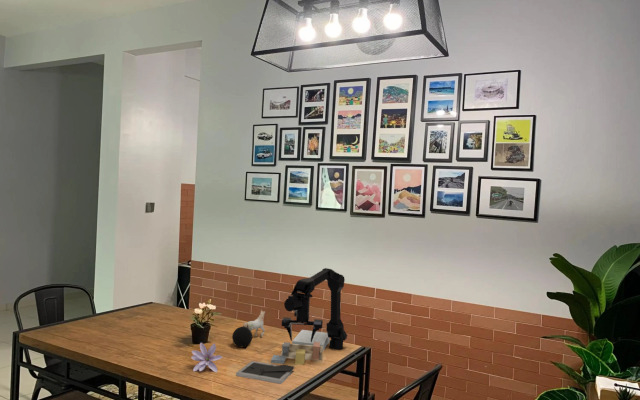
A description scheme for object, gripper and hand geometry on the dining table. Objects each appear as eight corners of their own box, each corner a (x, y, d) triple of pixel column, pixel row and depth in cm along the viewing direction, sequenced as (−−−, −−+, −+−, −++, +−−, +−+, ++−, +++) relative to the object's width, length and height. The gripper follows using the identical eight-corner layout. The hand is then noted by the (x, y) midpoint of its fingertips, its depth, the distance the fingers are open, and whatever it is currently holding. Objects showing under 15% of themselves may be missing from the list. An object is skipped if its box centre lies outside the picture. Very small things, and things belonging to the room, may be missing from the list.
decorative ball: (228, 347, 243) (229, 327, 242) (238, 342, 252) (239, 323, 252) (245, 351, 239) (246, 331, 239) (255, 345, 249) (256, 326, 248)
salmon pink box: (319, 354, 237) (319, 342, 237) (318, 359, 230) (319, 346, 230) (313, 354, 237) (313, 341, 237) (312, 358, 230) (313, 346, 230)
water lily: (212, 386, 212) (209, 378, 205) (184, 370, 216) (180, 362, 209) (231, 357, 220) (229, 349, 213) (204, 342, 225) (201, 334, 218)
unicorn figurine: (270, 334, 268) (271, 310, 268) (250, 343, 251) (251, 318, 251) (259, 332, 272) (260, 308, 271) (238, 341, 254) (240, 315, 254)
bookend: (289, 352, 237) (290, 342, 237) (288, 356, 231) (288, 346, 231) (283, 352, 237) (284, 342, 237) (282, 356, 231) (282, 346, 231)
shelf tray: (322, 356, 238) (322, 345, 238) (321, 363, 228) (322, 352, 228) (281, 353, 239) (282, 343, 239) (279, 360, 229) (280, 349, 229)
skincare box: (291, 351, 243) (322, 354, 240) (291, 340, 243) (322, 343, 240) (301, 339, 264) (330, 342, 260) (301, 329, 264) (330, 331, 260)
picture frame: (294, 372, 217) (251, 365, 223) (294, 366, 216) (252, 359, 223) (281, 385, 201) (235, 377, 208) (281, 379, 201) (236, 370, 208)
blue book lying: (285, 362, 228) (286, 355, 228) (283, 367, 222) (284, 360, 221) (273, 361, 228) (273, 354, 228) (270, 366, 222) (271, 359, 222)
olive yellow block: (304, 363, 228) (305, 349, 227) (303, 367, 222) (304, 353, 221) (296, 362, 228) (296, 348, 228) (295, 367, 222) (295, 353, 222)
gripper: (323, 304, 232) (321, 337, 232) (284, 302, 233) (283, 334, 233) (323, 310, 221) (321, 344, 221) (282, 308, 221) (280, 342, 222)
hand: (301, 341), depth 225 cm, fingers open, 9 cm apart
